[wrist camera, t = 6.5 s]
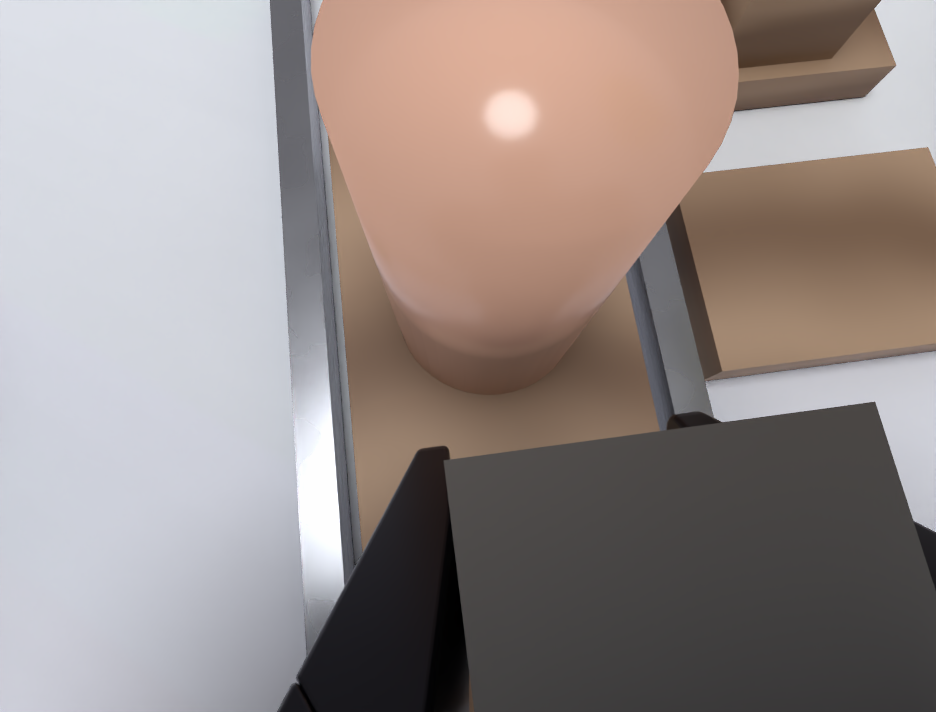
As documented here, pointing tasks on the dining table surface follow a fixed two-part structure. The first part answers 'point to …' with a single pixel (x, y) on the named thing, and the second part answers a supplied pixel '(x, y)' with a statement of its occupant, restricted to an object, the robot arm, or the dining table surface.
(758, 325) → the broken strip
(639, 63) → the terracotta cylinder
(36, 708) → the dining table surface
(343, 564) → the lane rails
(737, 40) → the walnut cube
